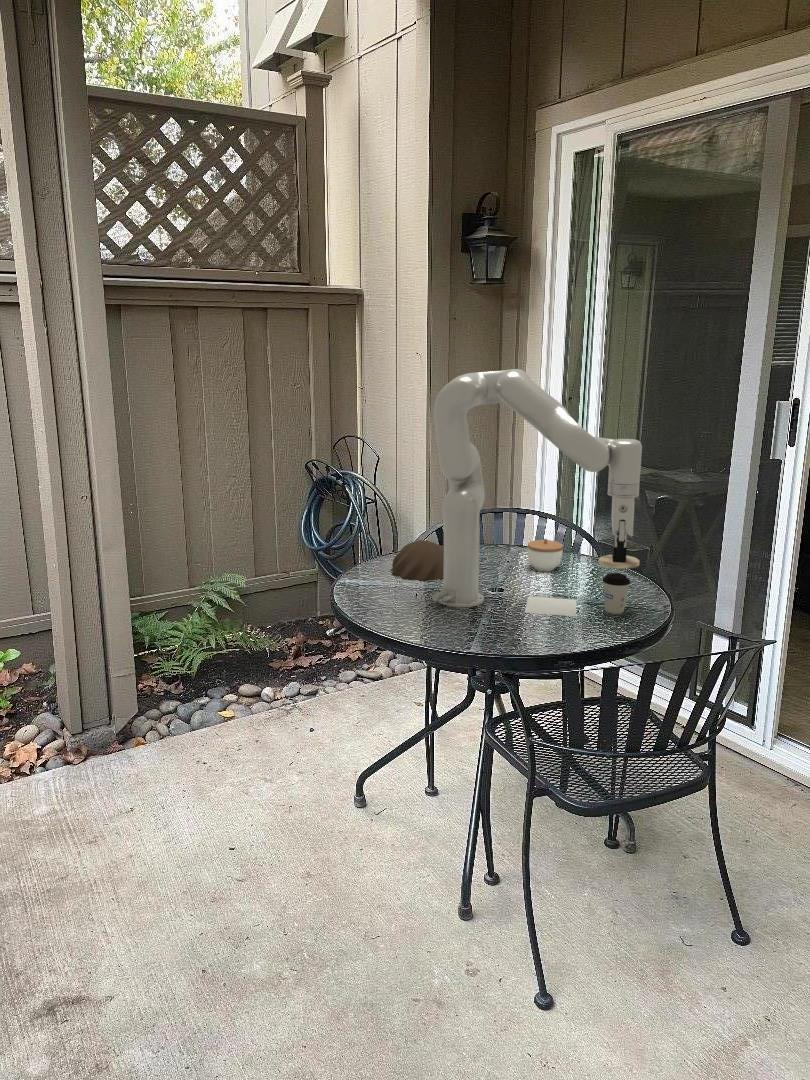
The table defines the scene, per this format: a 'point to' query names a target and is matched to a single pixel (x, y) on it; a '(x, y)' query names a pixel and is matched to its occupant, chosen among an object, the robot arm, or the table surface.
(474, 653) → the table surface
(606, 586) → the coffee cup
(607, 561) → the lid
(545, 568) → the lidded jar
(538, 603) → the mat
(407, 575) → the decorative dome
